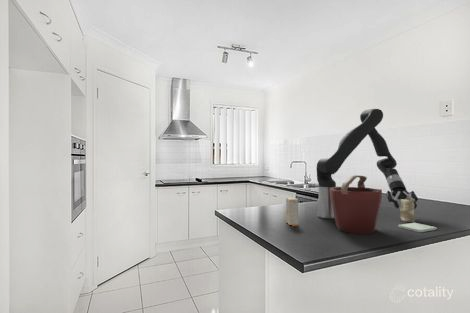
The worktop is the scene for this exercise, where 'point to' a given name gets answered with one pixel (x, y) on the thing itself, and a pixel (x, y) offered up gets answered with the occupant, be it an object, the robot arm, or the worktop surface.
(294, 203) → the supplement box
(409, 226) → the sage board
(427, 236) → the worktop surface
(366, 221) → the bucket
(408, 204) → the maple block
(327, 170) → the robot arm
